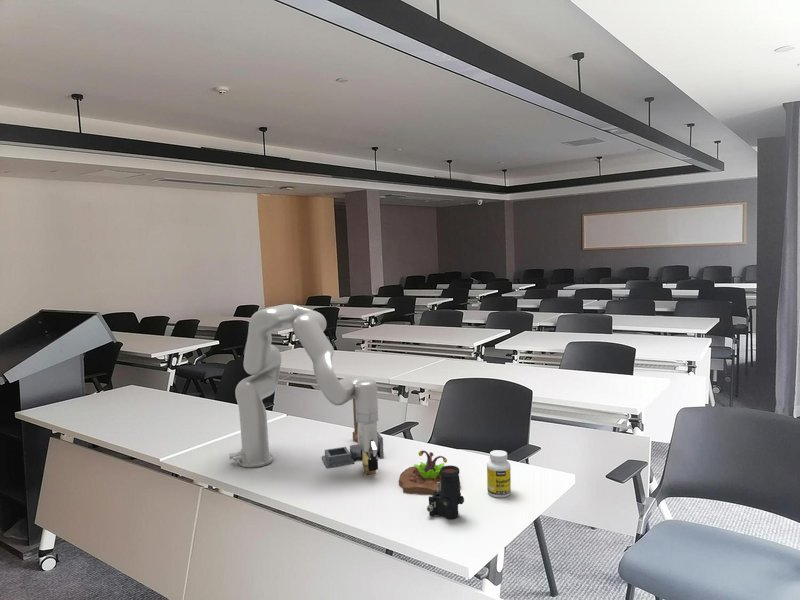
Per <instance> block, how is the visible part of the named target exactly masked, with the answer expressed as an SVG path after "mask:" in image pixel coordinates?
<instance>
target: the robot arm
mask: <svg viewBox="0 0 800 600" xmlns="http://www.w3.org/2000/svg"><path fill="white" fill-rule="evenodd" d="M287 328H292V332H293V333H294V335H295V337H296V338H297V339H298V341H299V343H300V344H301V346H302V347H303V349H304V350H305V352H306V353H307V355H308V356H309V358H310V360H311V361H312V367H313V368H312V369H313V373H314V374H313V375H314V377H315V381H316V384H317V386H318V388H319V389H320V391H321V393H322V394H323V396H324V397H325V398H326V399H327V401H328V402H329V403H331V404H332V405H334V406H342V405H344V404H347V402H349V401H351V400H353V399H354V398H355V404H356V422H357V423H358V442H357V444H358V445H359V447H360V448H361V458H360V460H361V461H362V459H363V453H362V451H363V452H364V453H366V452H368V457H369V459H368V470H369V471H374V470H376V471H378V470H379V462H378V461H379V458H378V457H379V456H377V450H378V438H377V432H378V431H377V430H378V428H377V426H376V423H377V422H378V421H379V400H378V385H377V382H376V380H373V379H369V378H366V379H365V378H363V379H360V378H356V377H352V376H351V377H350V376H347V377H344V378H341V379H340V380H339V378H338V377H337V376H336V374H335V371H334V369H333V368H334V367H333V366H332V364H333V362H332V361H333V355H334V353H335V352H334V351H335V350H334V346H333V345H332V343H331V342H330V340H329V339H328V337H327V336H326V334H325V333H324V332H325V330H326V328H327V320H326V318H325V316H324V315H323V314H322V313H320V312H318V311H317V310H313V309H310V308H306V307H302V306H300V305H296V304H291V303H283V304H280V305H275V306H269V307H267V308H263V309H260V310H257V311H255V312H254V313H253V314H252V315H251V317H250V320H249V322H248V330H247V331H248V332H247V340H246V344H245V351H244V357H243V369H244V371H245V372H246V373H247V374H248V375H250V376H248V377H245V378H243V379H242V380H240V381H239V382H238V384H237V385H236V387H235V390H234V392H235V399H236V403H237V406H238V413H239V425H240V427H239V428H240V439H241V441H240V442H241V448H240V451H238V452H234V453H233V452H232V453H229V460H233V461H238V465H239V466H240V467H243V468H248V469H249V468H260V467H263V466H267V465H270V464H271V463H273V461H274V460H275V458H274V457H275V456H274V454H273V453H271V452H270V447H269V446H270V443H269V430H268V417H267V416H268V415H267V410H266V407H265V404H264V403H263V400H264V399H266V398H268V397H270V396H271V395H273V394H274V393H275V392H276V390H277V388H278V383H279V379H280V378H279V377H280V373H281V366H282V354H281V352H280V350H279V348H278V347H277V346H275V345H274V344H272V341H273V337H272V333H271V332H274V331H275V332H276V331H280V330H285V329H287ZM369 449H372V450H369ZM370 453H371V455H370Z"/></svg>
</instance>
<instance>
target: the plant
mask: <svg viewBox="0 0 800 600" xmlns="http://www.w3.org/2000/svg"><path fill="white" fill-rule="evenodd" d="M424 454H426V458H427V459H426V461H425V463H424V462H422V461H421V462H420V464H415V463H414V464H413V466H409V467H408V468H406V469H405V470H403V471H402V472H401V473H400V475H399V479H398V486H400V487H401V488H402V491H403V494H408V495H429V496H430V495H431V496H433V492H434V491H435V490H437V482H440V487H441V474H440V469H441V468H442V467H444V466H445V464H446V463H447V462H448V459H447V458H446V457H445V456H442V455H438V456H436V457H435V458H433V457H434V452H429V453H428V451H426V450H420V451H418V456H419V457H422V456H423V455H424ZM439 459H442V462H443V463H440V464H437V463H436V462H437V461H438V460H439ZM440 489H441V488H440ZM440 491H441V490H440Z"/></svg>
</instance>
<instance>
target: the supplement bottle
mask: <svg viewBox="0 0 800 600" xmlns="http://www.w3.org/2000/svg"><path fill="white" fill-rule="evenodd" d="M489 459H490V460H488V462H487V463H486V478H487V479H486V481H487V482H486V483H487V484H486V485H487V489H486V490H487V494H488V495H489V496H491V497H494V498H506V497H508V496H510V495H511V491H512V489H511V487H512V485H511V481H512V480H511V463H510V462H509V461H508V452H507V451H505V450H500V449H499V450H498V449H496V450H495V449H494V450H492V451H490V452H489Z"/></svg>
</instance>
